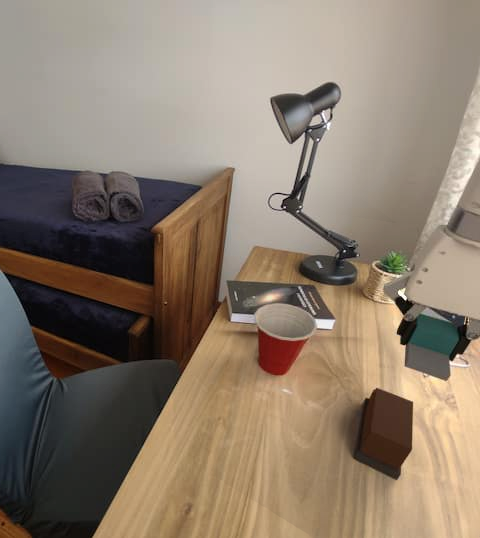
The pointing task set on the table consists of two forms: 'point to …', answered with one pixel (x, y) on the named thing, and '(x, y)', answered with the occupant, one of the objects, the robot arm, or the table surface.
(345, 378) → the table surface
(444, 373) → the teal block
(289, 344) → the plastic cup
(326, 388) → the table surface
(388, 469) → the chocolate bar chunk
